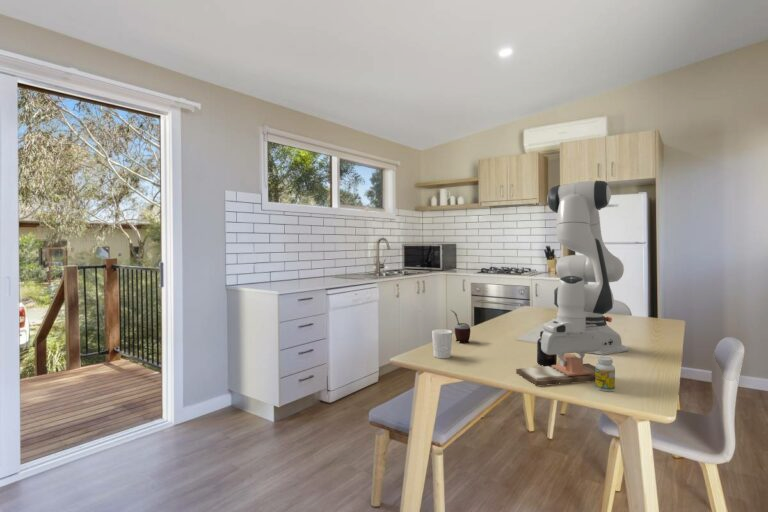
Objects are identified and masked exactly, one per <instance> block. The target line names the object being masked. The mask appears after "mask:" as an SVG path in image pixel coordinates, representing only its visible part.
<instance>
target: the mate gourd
mask: <svg viewBox="0 0 768 512" xmlns="http://www.w3.org/2000/svg"><path fill="white" fill-rule="evenodd" d="M450 311H451V312H452V313H453V314H454V316H455V319H456V321H457V323H456V324H455V326H454V334H455V339H456V340H455V342H458V341H460V342H459V343H458V344H463V343H466V342H467V343H468V344H469V343H470V341H469V340H470V337H471V327H470V325H469V324H468V323H464V322H459V318H458V315H457V313H456V312H455V311H454V310H453V309H450ZM467 343H466V344H467Z"/></svg>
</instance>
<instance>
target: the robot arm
mask: <svg viewBox="0 0 768 512" xmlns="http://www.w3.org/2000/svg"><path fill="white" fill-rule="evenodd" d="M547 193H548V194H547V197H546V198H547V200H546V201H547V205H548V208H549V210H551V211H552V212H555V213H556V226H555V227H556V239H557V241H558V242H559V244H560V245H561V246H563V247H564V248H566V249H568V250H570V251H573V252H575V253H579V255H578V254H571V255H565V256H561V257H559V259H557V262H556V263H555V272H556V274H557V276H558V277H559V280H558V285H557V287H556V288H554V290H553V291H554V292H553V293H554V294H553V295H554V297H553V298H554V299H553V300H554V301H553V304H554V305H555V306H556V308H558V309H557V313H556V318H554V319H552V320H549V321H547V322H544V323H543V324H542V328H543V331H544V332H543V334H542V339H541V350H542V351H543V352H544V353H546V354H548V355H551V354H557V358H558V361H559V360H560V365H561V366H562V367H564V366H567V361H565V360H564V358H563V357H564V354H576V353H577V354H578V355H577V357H578V358H581V359H583V360H584V358H585V356H586V353H587V354H596V355H600V356H604V355H610V354H616V353H623V352H628V351H629V348H628V347H627V346H626V345H623V344H622V338H621V335H620V333H618V332H617V331H615V330H614V329H613V328H611V327H610V326H609V325H607V322H608V323H612V321H613V317H611V316H604V315H605V314H607V313H608V312H609V311H611V310H612V309H613V307H614V302H615V299H614V293H613V291H612V289H611V286H610V283H615V282H618V281H619V280H621V279H622V277H623V276H624V271H625V268H624V263H623V262H622V260H621V258H619V257H617V256H615V255H614V254H613V253H611V252H610V251H609V249H608V248H607V246H606V245H605V243H604V239H603V237H602V230H601V217H600V213H599V211H601V210H602V209H604V208H606V207H607V206H608V205H609V204H610V201H611V197H612V191H611V188H610V186H609V183H607V182H606V181H605V180H594V181H593V180H591V181H590V180H588V181H585V180H584V181H578V182H572V183H565V184H563V185H555V186H554V185H553V186H552V187H550V189H549V190H548V192H547ZM589 283H594V284H589Z"/></svg>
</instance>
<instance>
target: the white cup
mask: <svg viewBox="0 0 768 512" xmlns="http://www.w3.org/2000/svg"><path fill="white" fill-rule="evenodd" d="M431 335H432V336H431V337H432V349H433V351H432V352H433V357H435V358H436V359H437V358H438V359H449V358H451V355H452V353H451V352H452V341H453V331H452V330H450V329H443V328H440V329H439V328H438V329H433V330H432V331H431Z"/></svg>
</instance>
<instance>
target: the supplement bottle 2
mask: <svg viewBox="0 0 768 512" xmlns="http://www.w3.org/2000/svg"><path fill="white" fill-rule="evenodd" d="M597 362H598V363H596V364H595V365H594V366H595V381H594V383H595V386H594V387H595V388H596V390H598V391H600V392H607V393H608V392H610V393H612V392H614V391H615V390H616V367H615V366H614V365H613V364H614V362H613V358H611V357H609V356H598V357H597Z"/></svg>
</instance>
